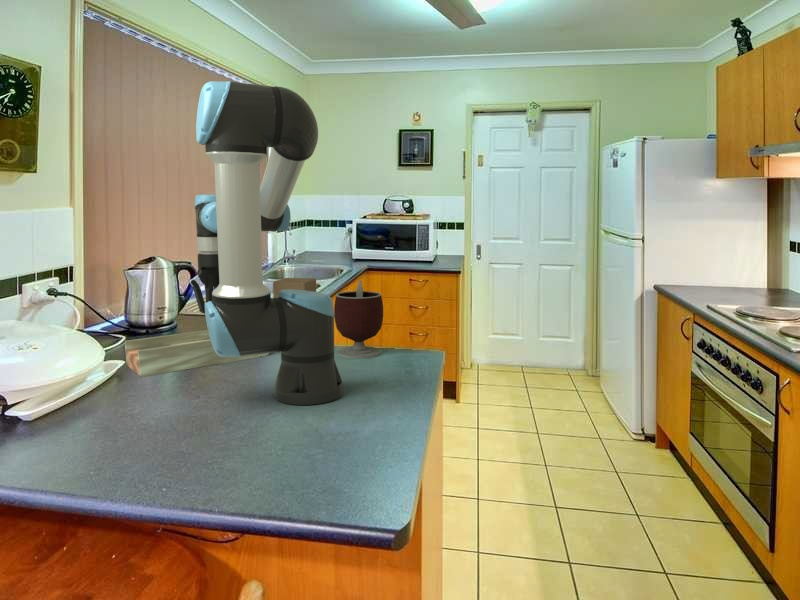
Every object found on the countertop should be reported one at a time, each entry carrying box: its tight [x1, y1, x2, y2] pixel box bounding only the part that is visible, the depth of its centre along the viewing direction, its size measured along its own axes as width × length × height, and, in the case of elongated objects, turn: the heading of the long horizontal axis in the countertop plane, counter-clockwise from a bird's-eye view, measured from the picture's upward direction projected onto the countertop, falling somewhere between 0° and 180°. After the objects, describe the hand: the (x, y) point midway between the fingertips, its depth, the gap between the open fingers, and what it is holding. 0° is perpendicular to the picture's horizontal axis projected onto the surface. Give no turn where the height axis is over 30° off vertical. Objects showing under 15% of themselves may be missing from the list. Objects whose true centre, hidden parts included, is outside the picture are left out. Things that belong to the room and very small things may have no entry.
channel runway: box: [124, 329, 270, 378], centre depth 155 cm, size 14×34×6 cm, turn 129°
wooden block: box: [272, 277, 317, 298], centre depth 171 cm, size 10×10×20 cm
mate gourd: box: [333, 279, 384, 359], centre depth 163 cm, size 16×14×20 cm
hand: (215, 337), depth 158 cm, fingers closed
